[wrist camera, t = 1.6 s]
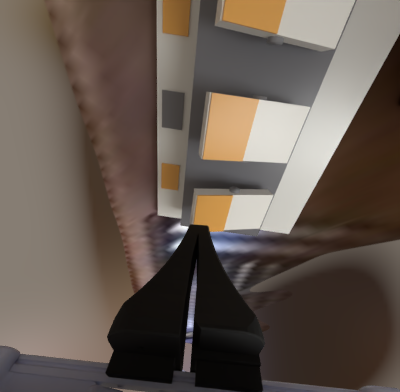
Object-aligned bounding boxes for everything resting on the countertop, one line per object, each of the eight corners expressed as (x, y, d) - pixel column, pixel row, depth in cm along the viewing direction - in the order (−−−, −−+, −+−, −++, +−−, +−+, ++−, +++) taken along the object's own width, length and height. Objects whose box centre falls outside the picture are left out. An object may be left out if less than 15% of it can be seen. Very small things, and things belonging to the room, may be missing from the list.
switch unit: (453, -87, 10) (570, -173, 7) (286, 228, 24) (298, 251, 21) (160, -135, 10) (134, -246, 7) (159, 210, 24) (150, 230, 21)
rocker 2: (300, 102, 12) (313, 103, 11) (278, 160, 15) (286, 166, 14) (206, 87, 11) (211, 88, 10) (198, 155, 13) (201, 161, 12)
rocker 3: (267, 186, 16) (275, 193, 15) (254, 222, 18) (259, 230, 17) (194, 185, 14) (196, 193, 13) (189, 225, 17) (191, 234, 16)
